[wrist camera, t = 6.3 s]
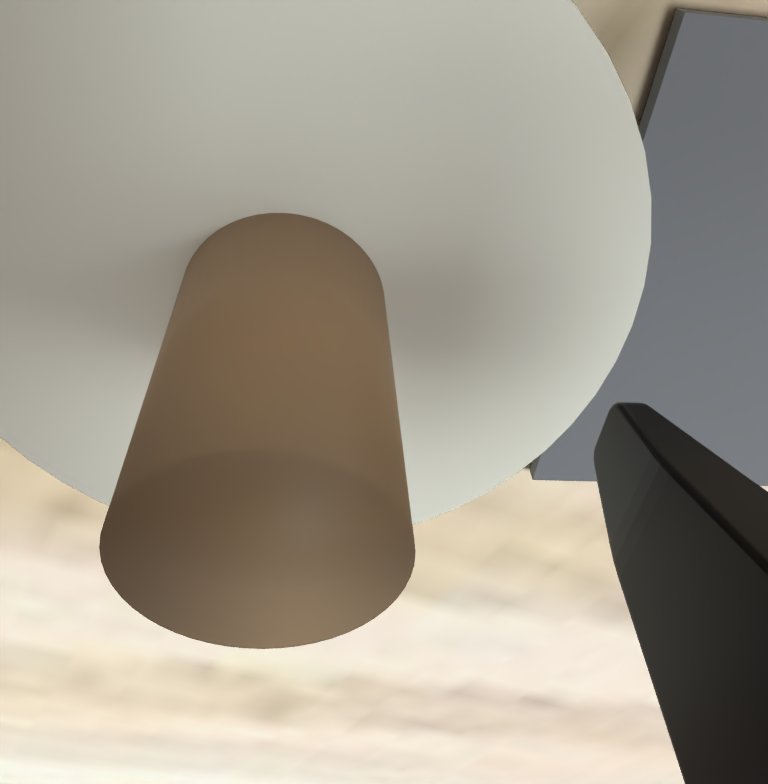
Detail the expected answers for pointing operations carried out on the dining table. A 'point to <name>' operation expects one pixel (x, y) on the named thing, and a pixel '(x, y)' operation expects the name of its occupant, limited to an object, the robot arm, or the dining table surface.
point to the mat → (698, 254)
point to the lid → (303, 280)
